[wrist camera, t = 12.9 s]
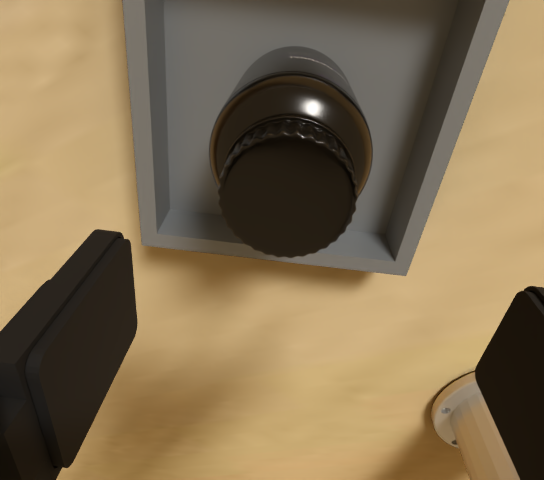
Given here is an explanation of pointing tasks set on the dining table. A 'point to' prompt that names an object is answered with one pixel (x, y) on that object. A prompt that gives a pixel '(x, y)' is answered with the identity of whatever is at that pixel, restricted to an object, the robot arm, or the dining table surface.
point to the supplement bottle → (290, 153)
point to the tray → (362, 78)
